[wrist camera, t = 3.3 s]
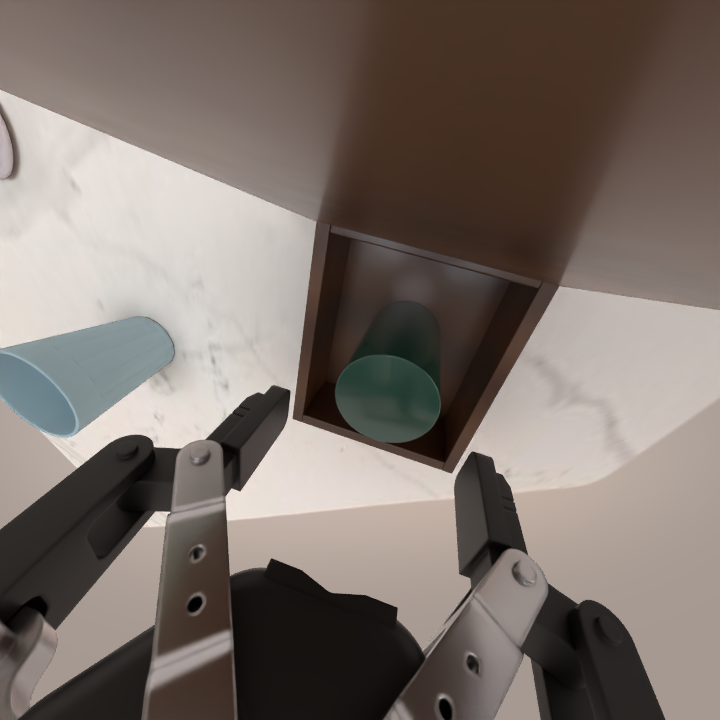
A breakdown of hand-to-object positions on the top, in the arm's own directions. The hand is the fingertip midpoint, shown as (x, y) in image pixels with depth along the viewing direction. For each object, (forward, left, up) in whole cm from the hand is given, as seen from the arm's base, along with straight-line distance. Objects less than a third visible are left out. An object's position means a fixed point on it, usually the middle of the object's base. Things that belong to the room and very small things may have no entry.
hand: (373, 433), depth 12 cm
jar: (0, 0, -12) cm, 12 cm away
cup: (+24, -11, -13) cm, 29 cm away
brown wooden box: (0, 0, -12) cm, 12 cm away
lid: (-6, -6, +1) cm, 8 cm away
